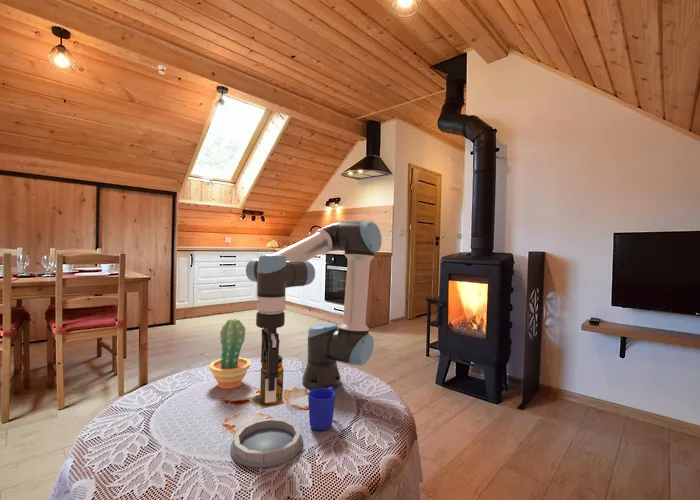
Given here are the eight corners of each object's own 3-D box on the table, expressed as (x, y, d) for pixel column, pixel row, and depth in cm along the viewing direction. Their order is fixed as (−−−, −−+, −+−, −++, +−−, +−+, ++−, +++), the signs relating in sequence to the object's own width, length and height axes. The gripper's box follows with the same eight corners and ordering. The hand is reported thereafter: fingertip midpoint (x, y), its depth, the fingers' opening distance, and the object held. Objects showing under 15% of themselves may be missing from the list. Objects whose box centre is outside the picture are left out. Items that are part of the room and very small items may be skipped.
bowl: (293, 422, 106) (293, 412, 106) (310, 458, 88) (311, 446, 88) (228, 433, 99) (228, 423, 99) (233, 475, 81) (233, 462, 81)
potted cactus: (259, 382, 136) (260, 319, 135) (226, 396, 123) (227, 326, 122) (233, 373, 144) (234, 314, 144) (199, 385, 131) (201, 320, 131)
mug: (342, 416, 110) (343, 385, 110) (328, 436, 99) (329, 401, 99) (319, 412, 113) (320, 381, 113) (302, 430, 102) (303, 396, 101)
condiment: (287, 403, 92) (289, 358, 92) (257, 410, 88) (258, 364, 88) (277, 393, 99) (279, 351, 98) (248, 399, 94) (249, 356, 94)
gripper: (252, 305, 100) (249, 384, 101) (261, 319, 83) (258, 414, 83) (277, 304, 103) (275, 381, 103) (292, 317, 86) (289, 410, 86)
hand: (268, 396), depth 93 cm, fingers closed on condiment, 6 cm apart
